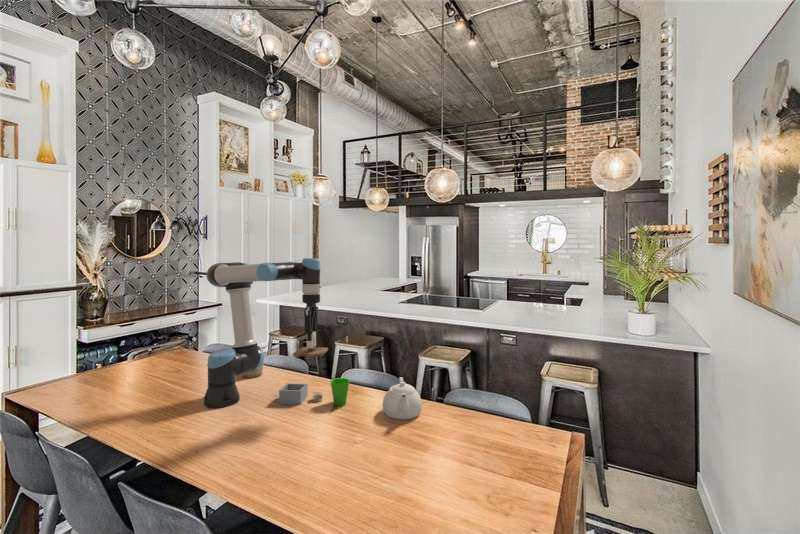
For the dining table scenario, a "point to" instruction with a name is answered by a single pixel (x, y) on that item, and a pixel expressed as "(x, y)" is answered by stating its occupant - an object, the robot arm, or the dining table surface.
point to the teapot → (402, 401)
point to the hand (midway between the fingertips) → (311, 346)
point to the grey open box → (293, 393)
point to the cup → (339, 390)
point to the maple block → (317, 396)
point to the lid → (311, 350)
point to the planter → (254, 372)
